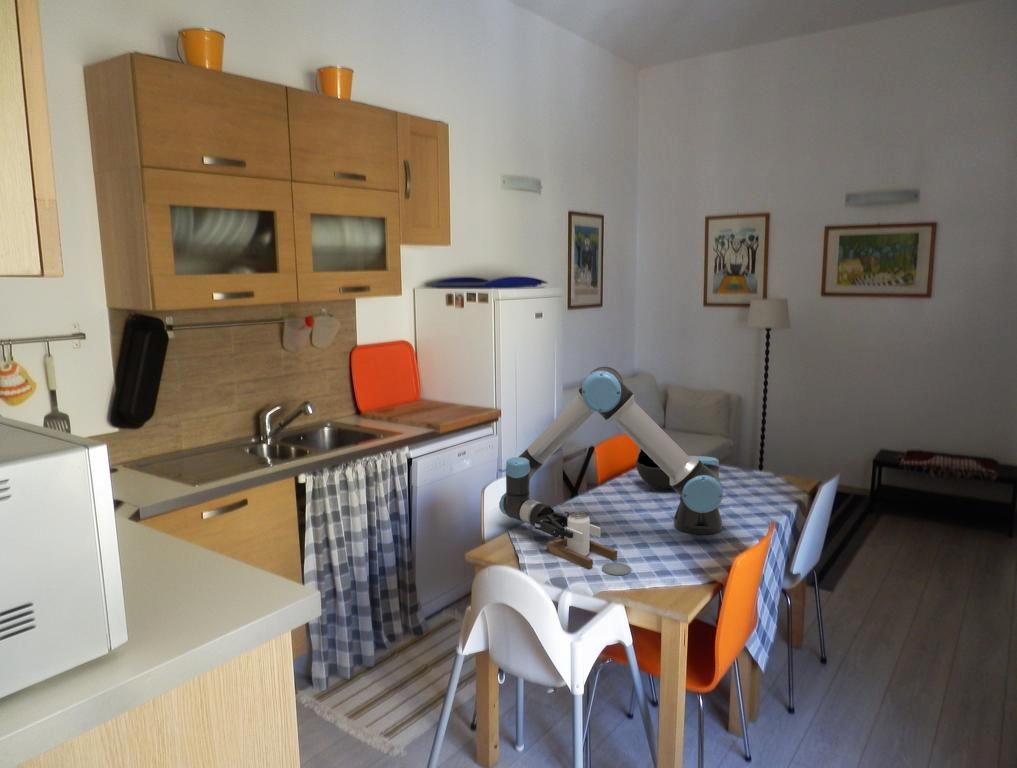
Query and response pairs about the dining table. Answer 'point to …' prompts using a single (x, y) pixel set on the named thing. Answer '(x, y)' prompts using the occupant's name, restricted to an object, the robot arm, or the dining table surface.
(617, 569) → the felt pad
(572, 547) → the can
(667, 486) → the coal bowl
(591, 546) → the u-shaped wooden frame
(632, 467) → the dining table surface
